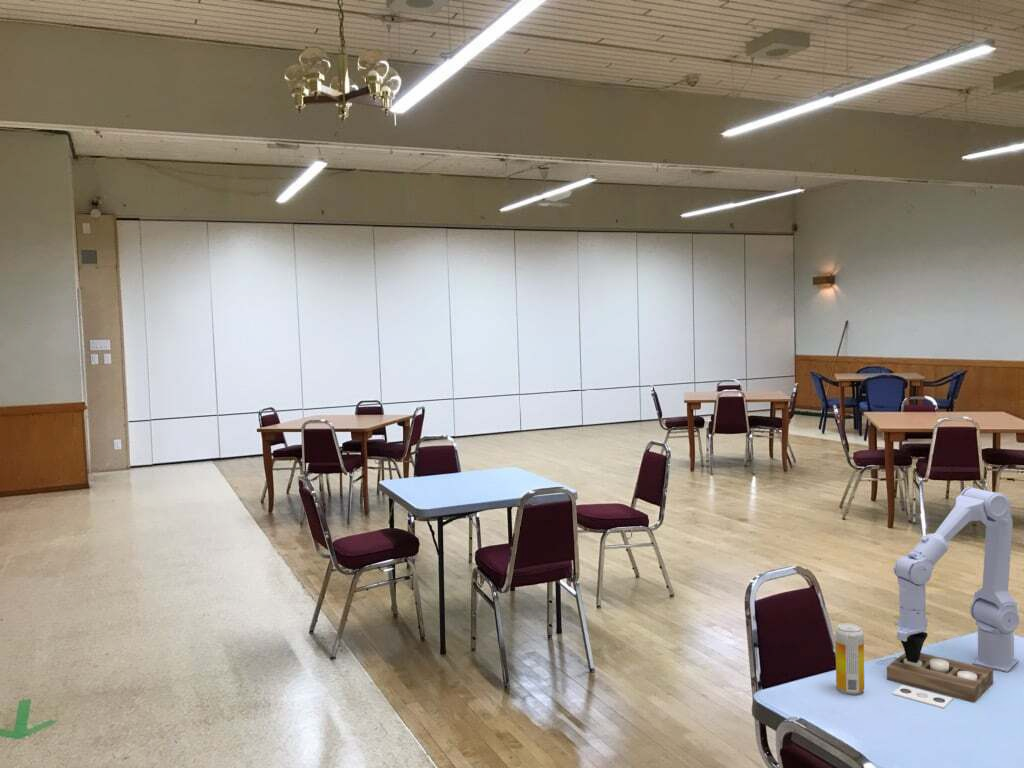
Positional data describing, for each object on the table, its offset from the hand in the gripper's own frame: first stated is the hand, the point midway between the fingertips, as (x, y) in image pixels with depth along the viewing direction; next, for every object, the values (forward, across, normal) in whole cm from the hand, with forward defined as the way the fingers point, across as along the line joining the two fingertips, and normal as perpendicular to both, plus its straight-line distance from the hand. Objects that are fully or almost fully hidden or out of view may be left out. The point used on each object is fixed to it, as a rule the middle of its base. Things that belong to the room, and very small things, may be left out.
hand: (912, 662), depth 196 cm
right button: (+2, 0, +12) cm, 12 cm away
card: (+3, +11, +6) cm, 13 cm away
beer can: (+3, +18, -8) cm, 20 cm away
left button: (+2, 0, 0) cm, 2 cm away
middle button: (+1, 0, +6) cm, 6 cm away
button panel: (+3, 0, +6) cm, 7 cm away
